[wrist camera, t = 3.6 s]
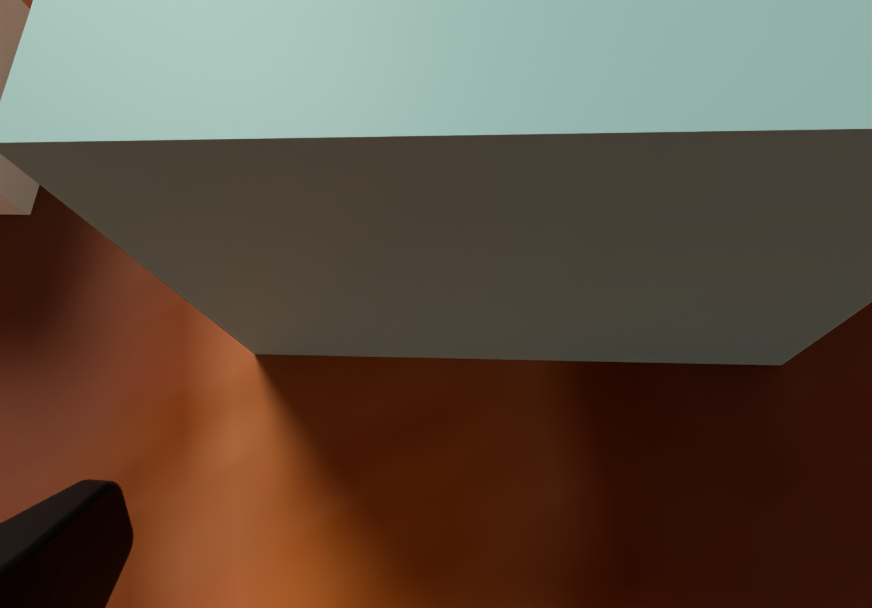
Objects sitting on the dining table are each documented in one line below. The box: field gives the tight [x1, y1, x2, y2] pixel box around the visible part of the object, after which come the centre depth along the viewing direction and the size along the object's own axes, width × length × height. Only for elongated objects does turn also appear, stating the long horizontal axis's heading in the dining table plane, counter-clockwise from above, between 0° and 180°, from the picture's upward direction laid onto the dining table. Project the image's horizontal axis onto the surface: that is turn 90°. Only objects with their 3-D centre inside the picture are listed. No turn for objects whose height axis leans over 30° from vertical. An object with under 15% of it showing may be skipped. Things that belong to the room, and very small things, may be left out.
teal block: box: [0, 0, 872, 365], centre depth 13 cm, size 10×12×9 cm
